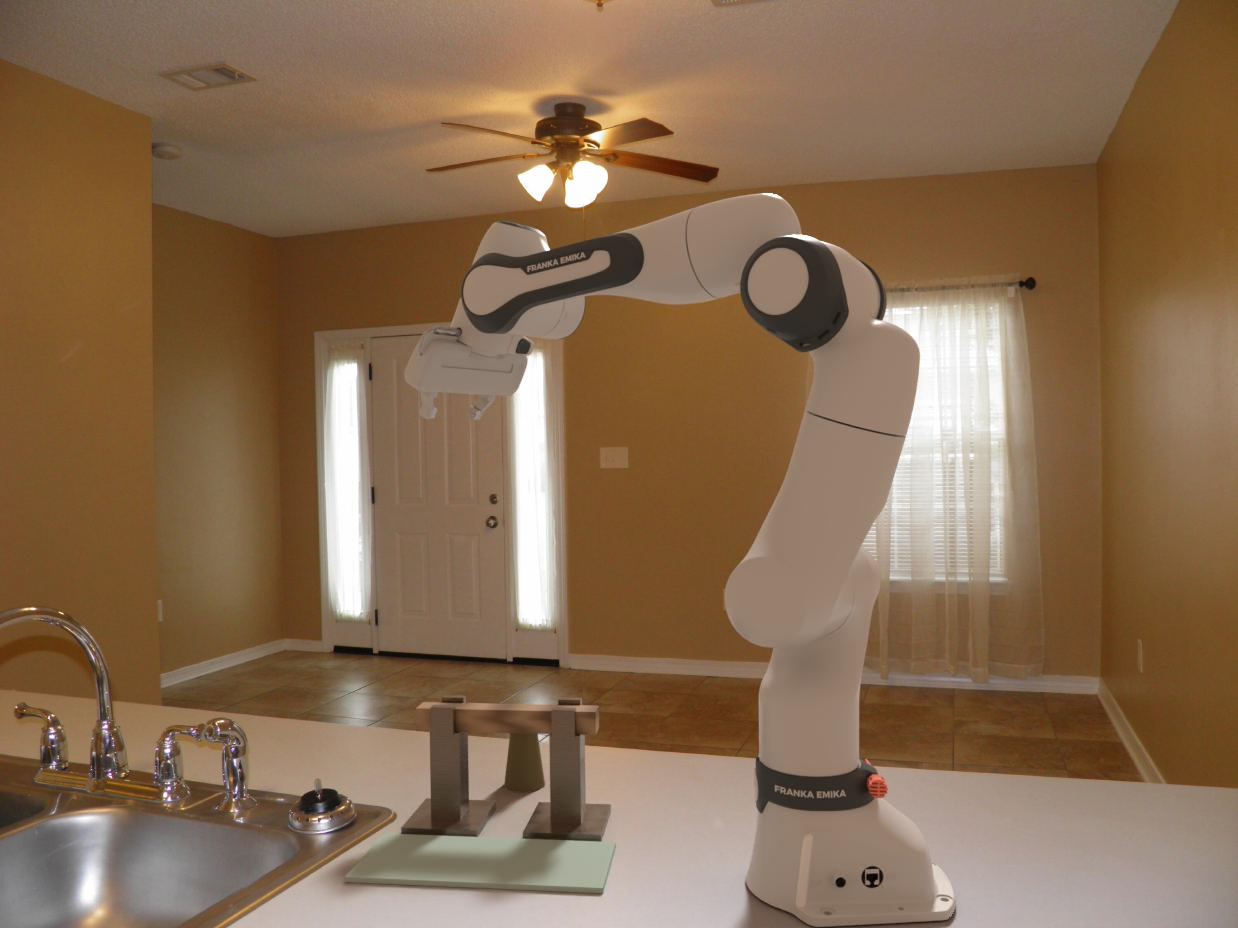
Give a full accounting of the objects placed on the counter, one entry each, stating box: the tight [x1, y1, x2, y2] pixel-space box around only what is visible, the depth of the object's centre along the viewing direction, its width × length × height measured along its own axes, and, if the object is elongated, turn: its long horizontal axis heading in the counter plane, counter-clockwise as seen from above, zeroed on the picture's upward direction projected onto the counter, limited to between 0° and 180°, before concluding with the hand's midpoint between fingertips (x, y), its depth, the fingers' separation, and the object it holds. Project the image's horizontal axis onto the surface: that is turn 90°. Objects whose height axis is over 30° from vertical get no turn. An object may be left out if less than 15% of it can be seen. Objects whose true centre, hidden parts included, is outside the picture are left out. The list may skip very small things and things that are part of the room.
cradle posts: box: [400, 694, 612, 842], centre depth 122 cm, size 26×10×16 cm, turn 83°
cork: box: [503, 733, 546, 793], centre depth 136 cm, size 6×6×11 cm
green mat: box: [344, 832, 617, 894], centre depth 110 cm, size 30×12×1 cm, turn 83°
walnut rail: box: [415, 701, 600, 736], centre depth 122 cm, size 24×3×3 cm, turn 83°
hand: (450, 418), depth 135 cm, fingers open, 8 cm apart
